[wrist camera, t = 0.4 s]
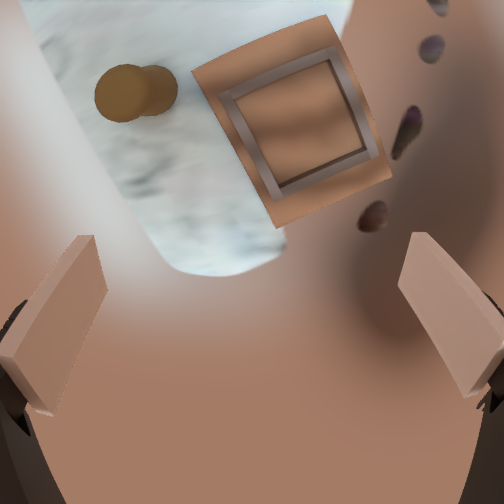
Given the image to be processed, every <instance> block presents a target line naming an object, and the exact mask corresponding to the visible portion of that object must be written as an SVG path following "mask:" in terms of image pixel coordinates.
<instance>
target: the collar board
mask: <svg viewBox="0 0 504 504" xmlns="http://www.w3.org/2000/svg"><path fill="white" fill-rule="evenodd" d="M191 72H192V74H193V75H194V77H195V79H196V81H197V82H198V84H199V86H200V88H201V89H202V91H203V93H204V95H205V97H206V98H207V100H208V102H209V104H210V106H211V107H212V109H213V111H214V113H215V115H216V116H217V118H218V120H219V122H220V124H221V125H222V127H223V129H224V131H225V133H226V135H227V136H228V138H229V140H230V142H231V144H232V146H233V148H234V149H235V151H236V153H237V155H238V157H239V159H240V161H241V162H242V164H243V166H244V168H245V170H246V172H247V174H248V176H249V177H250V179H251V181H252V183H253V185H254V187H255V189H256V191H257V193H258V195H259V196H260V198H261V200H262V202H263V204H264V206H265V208H266V210H267V212H268V214H269V216H270V218H271V220H272V222H273V223H274V225H275V227H276V229H277V228H279V227H281V226H284V225H286V224H288V223H290V222H292V221H295V220H297V219H299V218H301V217H303V216H306V215H308V214H310V213H312V212H314V211H317V210H319V209H321V208H323V207H325V206H328V205H330V204H332V203H334V202H337V201H339V200H341V199H343V198H345V197H348V196H350V195H352V194H354V193H357V192H359V191H361V190H363V189H365V188H368V187H370V186H372V185H374V184H377V183H379V182H381V181H383V180H386V179H388V178H390V177H392V173H391V170H390V167H389V163H388V160H387V157H386V154H385V151H384V148H383V145H382V142H381V139H380V136H379V133H378V131H377V128H376V125H375V122H374V119H373V117H372V114H371V112H370V109H369V106H368V104H367V102H366V99H365V96H364V94H363V91H362V89H361V87H360V84H359V82H358V79H357V77H356V75H355V72H354V70H353V68H352V66H351V64H350V61H349V59H348V57H347V55H346V53H345V51H344V49H343V46H342V44H341V42H340V40H339V38H338V36H337V34H336V32H335V30H334V28H333V26H332V25H331V23H330V21H329V19H328V17H327V15H326V14H325V15H322V16H319V17H316V18H313V19H310V20H307V21H304V22H301V23H298V24H295V25H293V26H290V27H287V28H284V29H282V30H279V31H277V32H274V33H272V34H269V35H267V36H264V37H262V38H259V39H257V40H255V41H252V42H250V43H248V44H245V45H243V46H241V47H239V48H237V49H234V50H232V51H230V52H228V53H226V54H224V55H222V56H220V57H218V58H216V59H214V60H212V61H210V62H208V63H206V64H204V65H202V66H200V67H198V68H196V69H194V70H192V71H191Z"/></svg>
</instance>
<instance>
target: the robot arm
mask: <svg viewBox="0 0 504 504" xmlns="http://www.w3.org/2000/svg"><path fill="white" fill-rule="evenodd" d="M398 287H399V288H400V290H401V291H402V293H403V294H404V296H405V297H406V299H407V301H408V302H409V304H410V305H411V307H412V308H413V310H414V312H415V313H416V315H417V316H418V318H419V320H420V321H421V323H422V325H423V326H424V328H425V330H426V331H427V333H428V334H429V336H430V338H431V340H432V341H433V343H434V345H435V346H436V348H437V350H438V352H439V353H440V355H441V357H442V359H443V360H444V362H445V364H446V366H447V367H448V369H449V371H450V373H451V375H452V376H453V378H454V380H455V382H456V384H457V386H458V388H459V390H460V392H461V394H462V396H463V397H464V398H467V397H470V396H472V395H476V394H478V393H480V391H481V390H482V389H483V387H484V386H485V384H486V383H487V382H488V383H489V385H490V387H491V388H490V390H489V391H488V392H487V394H486V395H485V396H484V397H483V399H482V400H481V401H480V402H479V404H478V406H477V409H479V408H480V407H481V406H482V404H483V403H485V407H484V408H483V409H482V411H484V413H483V418H482V423H481V428H480V432H479V437H478V441H477V445H476V449H475V453H474V457H473V460H472V464H471V467H470V471H469V474H468V477H467V481H466V483H465V486H464V489H463V492H462V495H461V498H460V501H459V503H458V504H504V314H503V312H502V310H501V309H500V308H498V306H497V304H496V303H495V302H494V301H493V300H492V298H491V297H490V296H488V295H487V294H486V293H484V292H483V291H482V290H480V289H479V287H478V286H477V285H476V284H475V283H474V282H473V281H472V280H471V279H470V278H469V276H468V275H467V274H466V273H465V272H464V271H463V270H462V269H461V268H460V267H459V265H458V264H457V263H456V262H455V261H454V260H453V259H452V258H451V257H450V256H449V255H448V254H447V253H446V252H445V251H444V250H443V249H442V248H441V247H440V245H438V243H437V242H436V241H435V240H434V239H432V238H431V236H429V235H428V234H427V233H426V232H412V236H411V239H410V243H409V247H408V251H407V254H406V258H405V262H404V265H403V269H402V272H401V275H400V279H399V282H398ZM107 291H108V289H107V286H106V283H105V279H104V275H103V271H102V267H101V264H100V260H99V256H98V252H97V247H96V243H95V239H94V235H84V236H83V235H81V236H77V237H76V239H75V240H74V241H73V242H72V243H71V245H70V246H69V247H68V248H67V249H66V251H65V252H64V253H63V254H62V256H61V257H60V258H59V259H58V261H57V262H56V263H55V265H54V266H53V267H52V269H51V270H50V271H49V272H48V274H47V275H46V277H45V278H44V279H43V280H42V282H41V283H40V285H39V286H38V287H37V289H36V290H35V292H34V293H33V294H32V296H31V297H30V298H29V300H25V301H24V302H22V303H21V304H20V305H19V306H17V307H16V308H15V310H14V311H13V312H12V314H11V315H10V317H9V318H8V319H9V320H7V321H6V323H5V324H4V326H3V329H1V330H0V504H66V502H65V500H64V498H63V496H62V494H61V492H60V490H59V488H58V486H57V484H56V482H55V480H54V478H53V476H52V474H51V471H50V470H49V467H48V465H47V462H46V460H45V458H44V456H43V453H42V450H41V448H40V446H39V443H38V440H37V438H36V435H35V432H34V430H33V427H32V424H31V421H30V418H29V416H28V414H27V412H26V410H25V407H26V404H27V402H28V403H29V404H30V405H31V407H32V408H33V409H34V410H35V411H36V412H38V413H42V414H45V415H50V416H55V413H56V411H57V408H58V405H59V402H60V399H61V397H62V394H63V392H64V389H65V386H66V384H67V381H68V379H69V376H70V374H71V371H72V369H73V366H74V364H75V361H76V359H77V357H78V354H79V352H80V349H81V347H82V345H83V343H84V340H85V338H86V336H87V334H88V331H89V329H90V327H91V325H92V323H93V320H94V318H95V316H96V314H97V312H98V310H99V308H100V305H101V303H102V301H103V299H104V297H105V295H106V293H107Z"/></svg>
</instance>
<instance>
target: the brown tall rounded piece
mask: <svg viewBox="0 0 504 504" xmlns="http://www.w3.org/2000/svg"><path fill="white" fill-rule="evenodd" d="M177 88H178V85H177V82H176V79H175V77H174V76H173V74H172V73H171V72H170V71H169V70H167V69H166V68H164V67H161V66H157V65H154V66H146V67H142V68H140V67H139V66H135V65H130V64H124V65H118V66H116V67H113V68H111V69H109V70H108V71H107V72H106V73H105V74H104V75H102V77H101V78H100V80H99V81H98V83H97V86H96V89H95V103H96V107H97V109H98V110H99V112H100V113H101V115H102V116H104V117H105V118H107V119H108V120H111V121H114V122H118V123H120V122H129V121H131V120H134V119H136V118H138V117H139V116H156V115H159V114H162V113H164V112H165V111H166V110H168V109H169V108H170V107H171V105H172V104H173V103H174V101H175V99H176V96H177Z"/></svg>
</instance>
